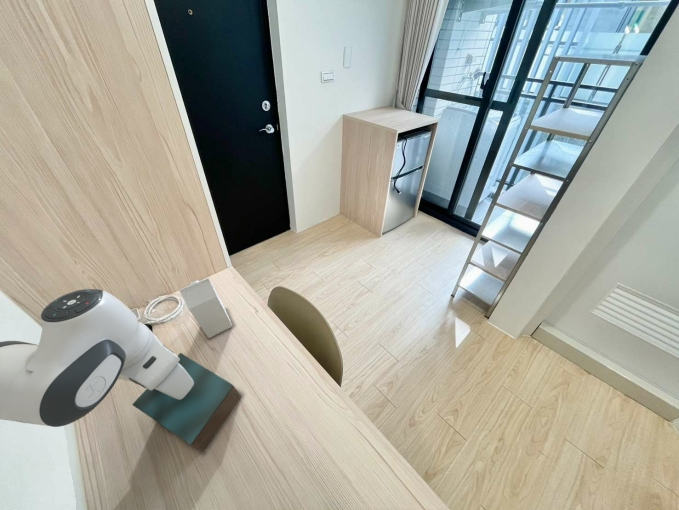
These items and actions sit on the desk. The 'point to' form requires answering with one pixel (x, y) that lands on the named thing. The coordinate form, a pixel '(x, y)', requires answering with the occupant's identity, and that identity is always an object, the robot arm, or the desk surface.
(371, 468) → the desk surface
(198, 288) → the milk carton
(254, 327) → the desk surface
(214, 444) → the desk surface
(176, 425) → the cover
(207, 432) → the tray box
